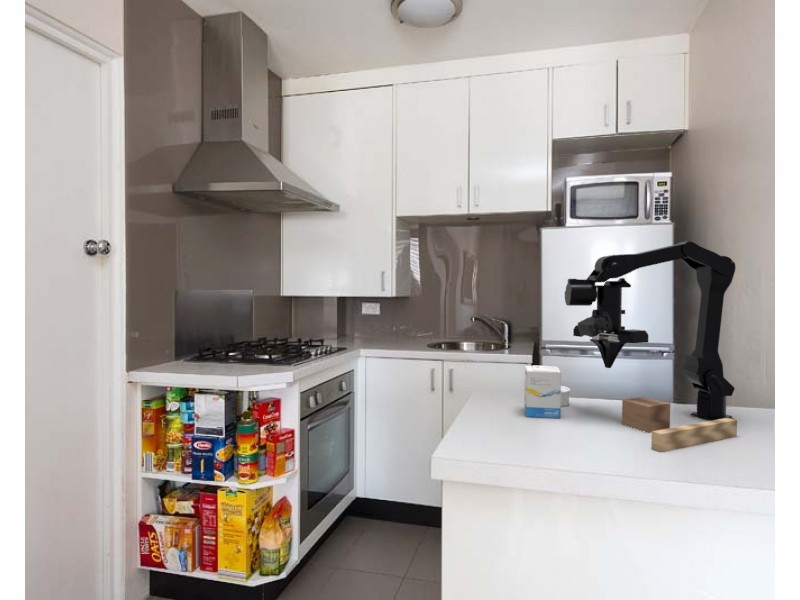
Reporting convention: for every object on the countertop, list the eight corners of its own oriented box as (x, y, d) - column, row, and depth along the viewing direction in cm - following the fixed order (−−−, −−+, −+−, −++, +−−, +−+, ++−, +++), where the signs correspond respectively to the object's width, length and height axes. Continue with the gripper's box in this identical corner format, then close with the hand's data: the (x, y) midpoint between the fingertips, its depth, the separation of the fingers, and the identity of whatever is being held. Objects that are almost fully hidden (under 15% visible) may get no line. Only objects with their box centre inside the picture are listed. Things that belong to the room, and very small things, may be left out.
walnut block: (643, 421, 116) (643, 396, 116) (669, 429, 110) (670, 403, 110) (622, 425, 114) (622, 399, 113) (648, 433, 107) (648, 406, 107)
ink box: (561, 419, 118) (561, 371, 118) (525, 417, 120) (526, 370, 120) (557, 409, 127) (557, 365, 126) (523, 408, 128) (524, 364, 128)
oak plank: (727, 433, 107) (727, 417, 107) (736, 436, 105) (737, 420, 105) (651, 448, 97) (651, 431, 97) (660, 451, 95) (660, 434, 95)
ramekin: (571, 408, 128) (571, 392, 128) (536, 406, 131) (536, 390, 131) (569, 400, 137) (569, 385, 137) (536, 398, 139) (536, 383, 139)
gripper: (557, 304, 126) (556, 364, 127) (616, 308, 109) (615, 377, 110) (589, 304, 131) (588, 361, 131) (650, 307, 114) (649, 373, 114)
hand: (608, 367), depth 121 cm, fingers closed
